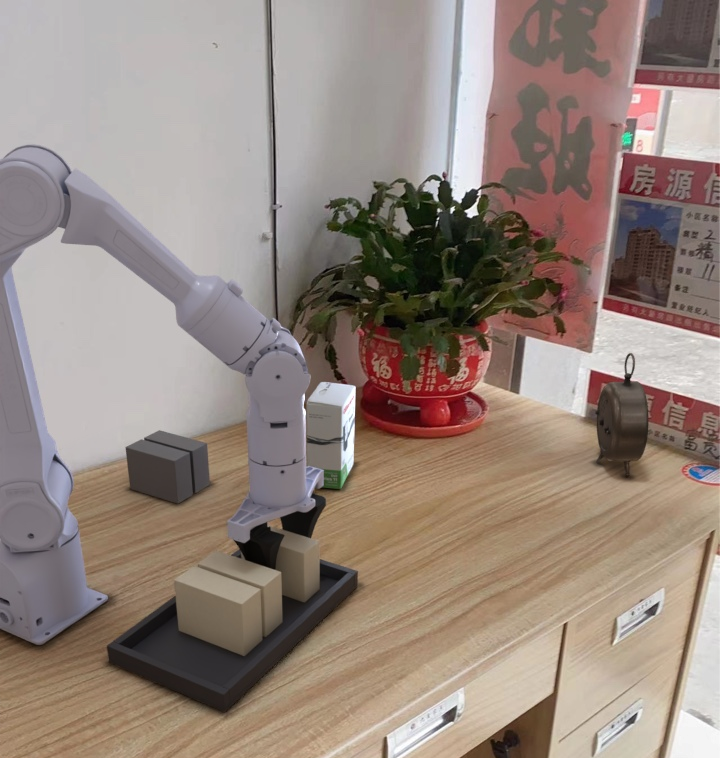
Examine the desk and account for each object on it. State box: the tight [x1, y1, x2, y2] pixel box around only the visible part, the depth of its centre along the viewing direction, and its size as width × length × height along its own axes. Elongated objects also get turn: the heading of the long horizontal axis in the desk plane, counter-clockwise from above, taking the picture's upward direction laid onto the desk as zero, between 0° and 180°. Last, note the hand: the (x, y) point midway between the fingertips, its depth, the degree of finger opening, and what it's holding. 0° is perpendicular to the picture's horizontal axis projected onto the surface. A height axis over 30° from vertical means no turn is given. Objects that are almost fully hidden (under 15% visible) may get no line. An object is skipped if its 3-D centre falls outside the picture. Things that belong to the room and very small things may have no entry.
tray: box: [106, 548, 359, 713], centre depth 89 cm, size 24×14×2 cm, turn 151°
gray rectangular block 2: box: [143, 429, 211, 494], centre depth 116 cm, size 3×8×6 cm, turn 61°
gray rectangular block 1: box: [125, 438, 194, 505], centre depth 113 cm, size 3×8×6 cm, turn 61°
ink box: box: [305, 381, 356, 490], centre depth 117 cm, size 9×5×12 cm, turn 168°
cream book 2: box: [197, 550, 283, 637], centre depth 88 cm, size 3×8×6 cm, turn 60°
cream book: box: [241, 524, 321, 602], centre depth 93 cm, size 3×8×6 cm, turn 61°
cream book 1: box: [173, 565, 262, 656], centre depth 85 cm, size 3×8×6 cm, turn 61°
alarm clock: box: [594, 352, 649, 478], centre depth 121 cm, size 11×5×16 cm, turn 179°
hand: (280, 570), depth 94 cm, fingers open, 6 cm apart
